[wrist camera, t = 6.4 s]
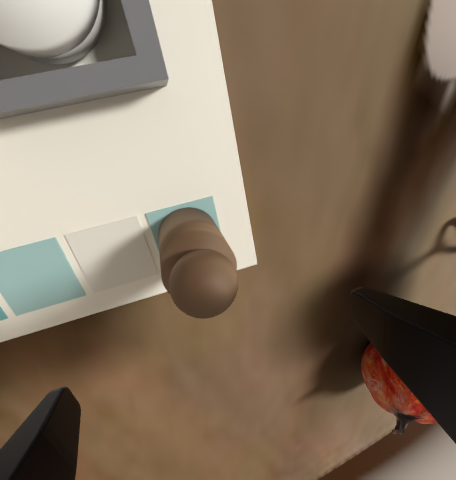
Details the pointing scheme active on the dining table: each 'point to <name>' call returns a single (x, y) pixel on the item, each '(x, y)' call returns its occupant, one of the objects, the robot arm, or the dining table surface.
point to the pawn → (196, 263)
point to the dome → (52, 28)
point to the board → (115, 176)
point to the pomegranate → (391, 391)
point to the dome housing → (92, 73)
